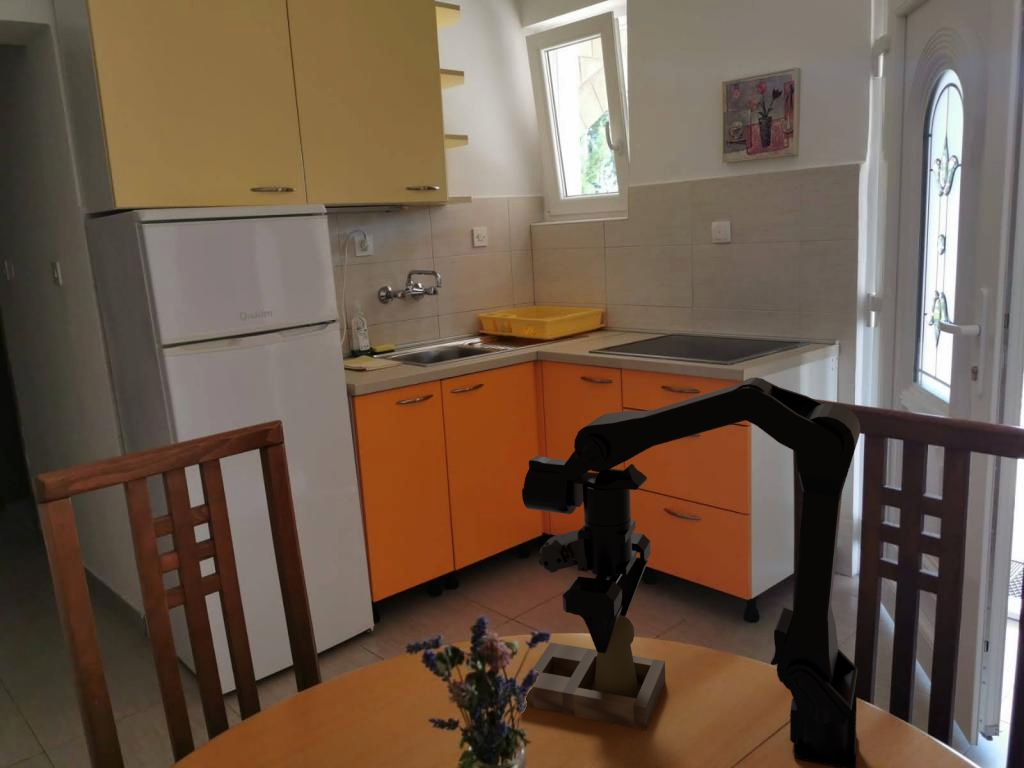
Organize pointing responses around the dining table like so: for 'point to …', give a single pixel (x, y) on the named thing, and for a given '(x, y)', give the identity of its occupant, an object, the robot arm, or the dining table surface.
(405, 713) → the dining table surface
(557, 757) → the dining table surface
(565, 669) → the hole block
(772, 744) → the dining table surface
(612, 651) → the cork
